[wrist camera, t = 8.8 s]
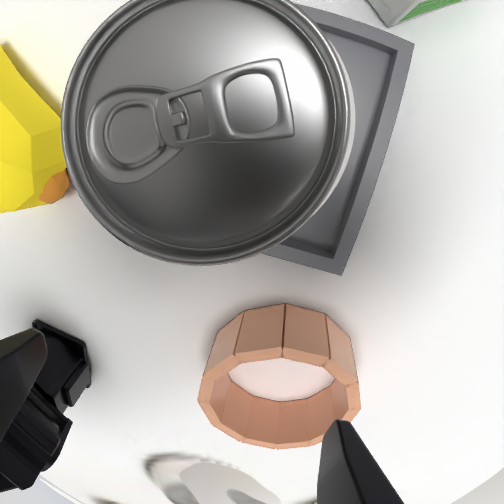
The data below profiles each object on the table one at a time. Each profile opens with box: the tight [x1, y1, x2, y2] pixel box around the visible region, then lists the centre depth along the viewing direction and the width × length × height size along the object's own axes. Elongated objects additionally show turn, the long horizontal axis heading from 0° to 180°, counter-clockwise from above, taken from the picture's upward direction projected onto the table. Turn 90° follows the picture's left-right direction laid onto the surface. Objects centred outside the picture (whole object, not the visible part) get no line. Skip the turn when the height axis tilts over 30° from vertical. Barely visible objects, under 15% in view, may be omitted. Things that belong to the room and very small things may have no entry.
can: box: [61, 0, 355, 266], centre depth 11 cm, size 6×6×12 cm
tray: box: [262, 3, 414, 276], centre depth 16 cm, size 14×14×2 cm
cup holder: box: [197, 304, 361, 449], centre depth 21 cm, size 11×11×4 cm
